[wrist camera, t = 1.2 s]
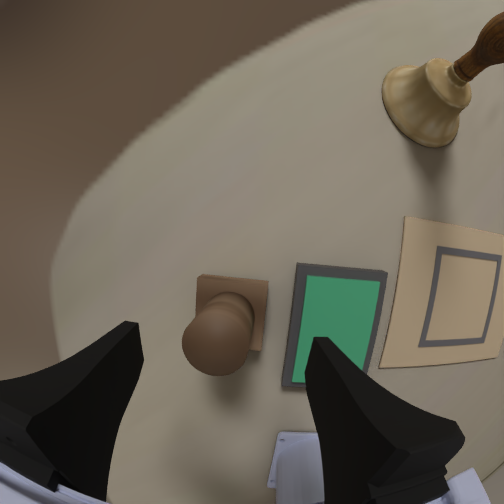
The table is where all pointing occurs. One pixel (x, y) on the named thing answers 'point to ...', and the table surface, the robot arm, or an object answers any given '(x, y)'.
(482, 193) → the table surface
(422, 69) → the hand bell
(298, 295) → the ink pad
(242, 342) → the stamp
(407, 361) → the plate
